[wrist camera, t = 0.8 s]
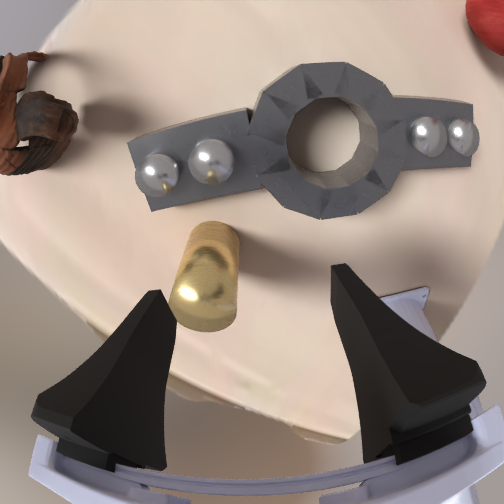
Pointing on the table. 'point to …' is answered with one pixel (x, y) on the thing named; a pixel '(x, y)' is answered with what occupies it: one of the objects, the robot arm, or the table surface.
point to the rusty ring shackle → (30, 120)
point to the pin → (207, 279)
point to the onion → (487, 22)
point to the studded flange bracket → (276, 154)
